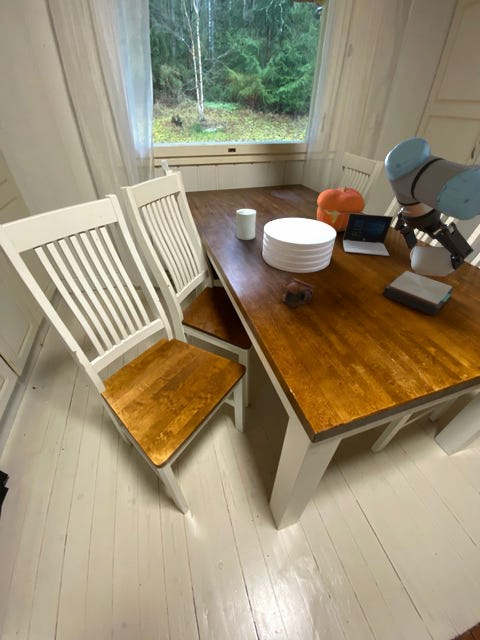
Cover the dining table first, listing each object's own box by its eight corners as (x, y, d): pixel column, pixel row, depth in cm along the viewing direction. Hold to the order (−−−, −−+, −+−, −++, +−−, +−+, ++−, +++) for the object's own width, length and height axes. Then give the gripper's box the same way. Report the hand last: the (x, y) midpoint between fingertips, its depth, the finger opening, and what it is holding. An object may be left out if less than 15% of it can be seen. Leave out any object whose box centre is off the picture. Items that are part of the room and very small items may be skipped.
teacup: (462, 279, 71) (473, 248, 69) (421, 274, 71) (430, 243, 69) (429, 275, 84) (436, 248, 82) (394, 270, 85) (401, 244, 83)
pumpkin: (330, 240, 128) (341, 195, 116) (304, 224, 144) (310, 183, 132) (368, 233, 135) (381, 190, 123) (338, 219, 152) (348, 179, 139)
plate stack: (296, 238, 130) (300, 213, 122) (344, 260, 112) (351, 233, 104) (249, 252, 117) (250, 225, 110) (294, 280, 99) (298, 250, 92)
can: (233, 234, 133) (233, 208, 125) (250, 231, 136) (250, 206, 129) (241, 241, 126) (241, 214, 119) (258, 238, 130) (260, 212, 122)
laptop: (344, 252, 118) (352, 222, 110) (342, 241, 127) (349, 213, 119) (388, 257, 115) (400, 226, 107) (383, 245, 125) (393, 216, 116)
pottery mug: (275, 297, 91) (285, 274, 89) (297, 304, 95) (307, 282, 93) (293, 309, 81) (304, 283, 79) (317, 317, 85) (328, 292, 83)
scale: (450, 297, 91) (456, 287, 89) (434, 317, 83) (441, 306, 80) (401, 278, 101) (405, 269, 98) (382, 295, 92) (386, 285, 89)
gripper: (366, 203, 71) (388, 248, 86) (460, 237, 54) (468, 286, 68) (388, 179, 70) (407, 229, 84) (492, 206, 52) (494, 263, 66)
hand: (434, 255), depth 76 cm, fingers closed on teacup, 13 cm apart
